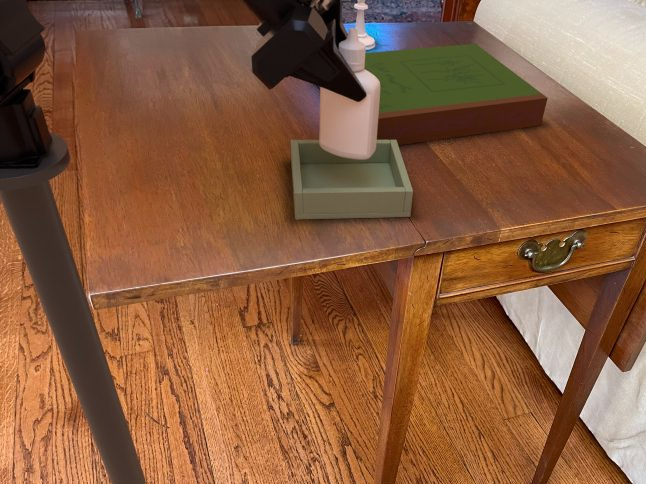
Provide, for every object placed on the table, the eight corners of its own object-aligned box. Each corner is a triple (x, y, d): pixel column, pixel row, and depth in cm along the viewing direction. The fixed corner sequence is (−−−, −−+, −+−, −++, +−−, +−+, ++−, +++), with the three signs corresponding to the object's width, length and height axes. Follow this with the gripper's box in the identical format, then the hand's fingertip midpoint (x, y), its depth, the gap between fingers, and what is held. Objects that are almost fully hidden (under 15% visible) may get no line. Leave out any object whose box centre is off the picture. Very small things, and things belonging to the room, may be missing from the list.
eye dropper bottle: (347, 168, 62) (353, 43, 54) (313, 144, 65) (314, 22, 57) (381, 156, 64) (392, 35, 56) (347, 133, 67) (352, 15, 59)
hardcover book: (369, 149, 75) (370, 119, 72) (317, 84, 87) (317, 56, 84) (545, 124, 84) (552, 97, 81) (476, 68, 96) (480, 43, 93)
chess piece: (377, 40, 101) (381, -28, 95) (372, 52, 97) (376, -19, 91) (346, 37, 101) (348, -32, 95) (341, 48, 98) (342, -23, 91)
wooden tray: (295, 219, 63) (294, 192, 61) (291, 165, 71) (290, 139, 68) (410, 217, 65) (413, 191, 63) (394, 164, 73) (396, 139, 70)
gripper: (290, -104, 42) (434, 76, 50) (320, -144, 56) (429, 1, 64) (184, 8, 47) (331, 156, 55) (237, -54, 61) (347, 71, 69)
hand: (364, 89), depth 60 cm, fingers closed on eye dropper bottle, 4 cm apart
